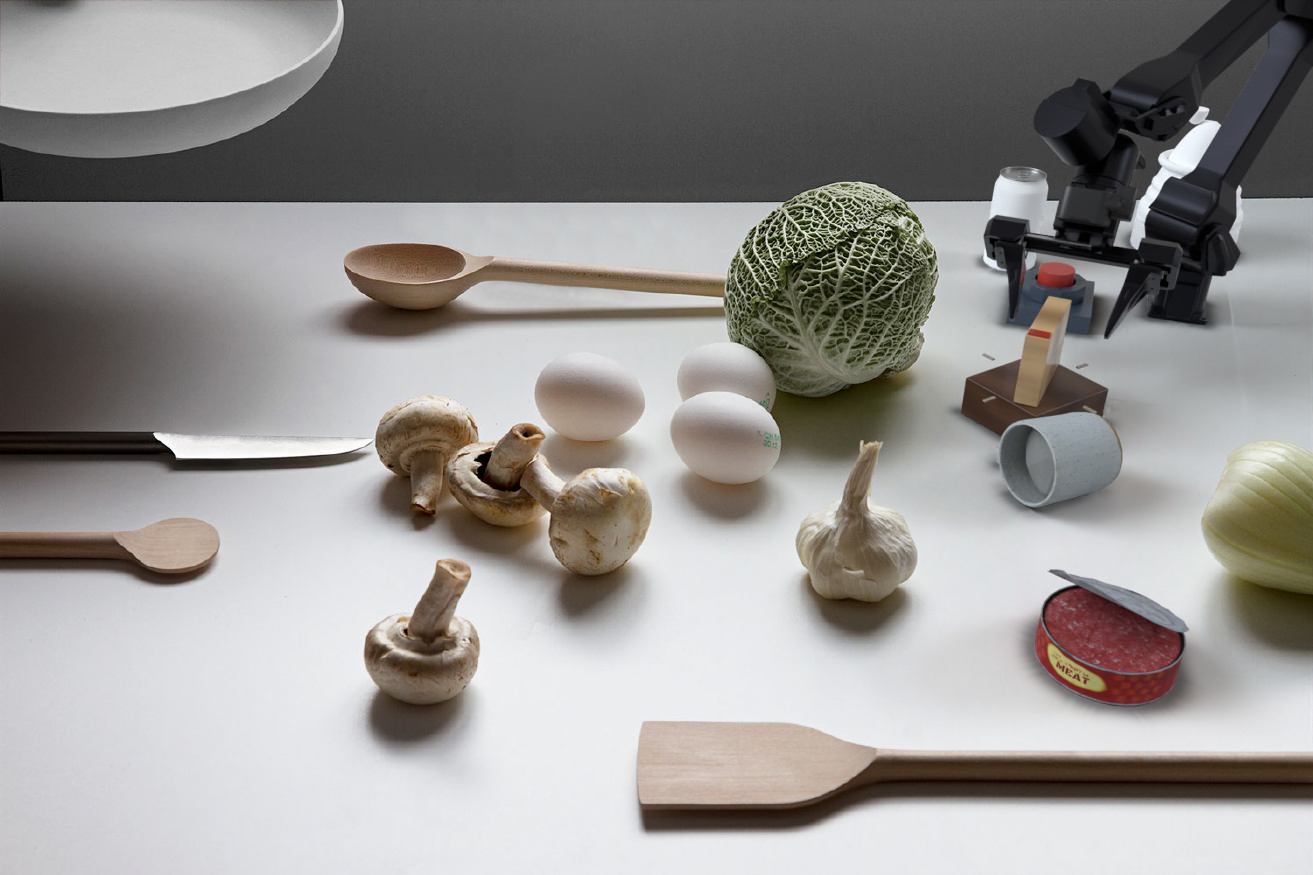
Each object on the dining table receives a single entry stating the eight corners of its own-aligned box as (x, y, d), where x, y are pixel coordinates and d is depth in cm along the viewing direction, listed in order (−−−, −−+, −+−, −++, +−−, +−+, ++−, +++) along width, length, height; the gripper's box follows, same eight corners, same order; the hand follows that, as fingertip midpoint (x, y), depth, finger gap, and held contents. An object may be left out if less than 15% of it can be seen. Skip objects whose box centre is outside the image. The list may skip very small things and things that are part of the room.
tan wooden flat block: (1036, 359, 114) (1049, 293, 111) (1059, 364, 113) (1072, 297, 110) (1013, 402, 107) (1025, 333, 103) (1036, 407, 106) (1050, 337, 102)
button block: (1014, 287, 140) (1019, 257, 138) (1091, 298, 137) (1098, 267, 135) (1005, 324, 131) (1010, 292, 129) (1087, 335, 128) (1094, 303, 126)
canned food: (1021, 681, 87) (1006, 553, 86) (1151, 663, 87) (1137, 535, 86) (1078, 728, 76) (1061, 581, 75) (1227, 707, 76) (1211, 561, 75)
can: (979, 269, 145) (993, 178, 138) (986, 252, 150) (1000, 163, 143) (1031, 277, 142) (1048, 184, 136) (1037, 258, 148) (1053, 168, 141)
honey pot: (1118, 251, 150) (1147, 115, 140) (1144, 223, 159) (1173, 93, 149) (1221, 272, 143) (1260, 131, 134) (1242, 241, 152) (1280, 107, 143)
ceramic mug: (1120, 502, 99) (1138, 426, 96) (1046, 524, 97) (1062, 447, 93) (1039, 446, 108) (1052, 374, 104) (969, 465, 105) (980, 392, 101)
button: (1038, 273, 134) (1041, 260, 133) (1073, 278, 133) (1076, 264, 132) (1035, 286, 131) (1038, 272, 130) (1071, 291, 130) (1074, 277, 129)
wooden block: (1026, 372, 121) (1032, 337, 118) (1137, 430, 110) (1146, 392, 108) (926, 407, 114) (931, 370, 112) (1034, 471, 104) (1042, 433, 102)
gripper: (1001, 137, 112) (957, 279, 110) (1204, 163, 105) (1161, 316, 102) (1008, 190, 122) (968, 321, 120) (1194, 217, 115) (1155, 358, 112)
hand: (1057, 328), depth 113 cm, fingers open, 9 cm apart
